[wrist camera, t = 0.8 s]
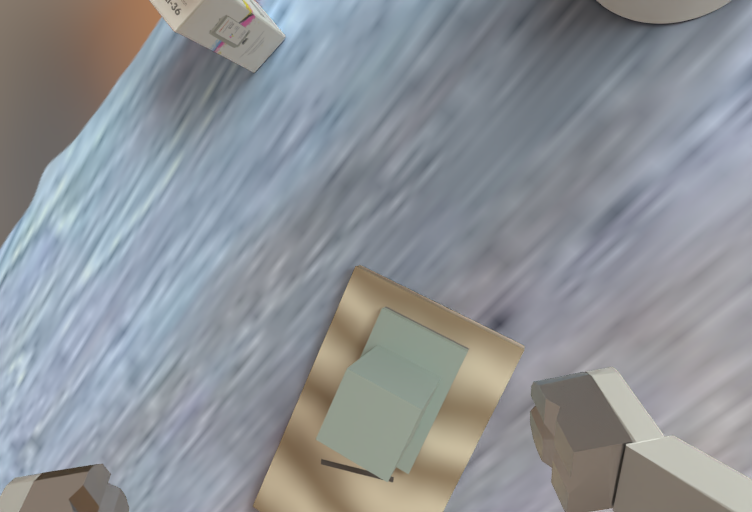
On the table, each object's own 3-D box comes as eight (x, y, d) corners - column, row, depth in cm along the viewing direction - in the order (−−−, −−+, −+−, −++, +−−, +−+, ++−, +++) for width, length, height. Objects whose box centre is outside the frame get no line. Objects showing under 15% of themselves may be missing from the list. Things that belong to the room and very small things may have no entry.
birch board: (360, 265, 48) (355, 266, 46) (524, 345, 44) (524, 349, 43) (260, 498, 52) (252, 506, 51) (401, 590, 49) (397, 601, 47)
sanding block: (385, 306, 46) (351, 325, 37) (469, 348, 44) (453, 378, 35) (334, 422, 48) (289, 466, 39) (411, 467, 46) (383, 524, 37)
